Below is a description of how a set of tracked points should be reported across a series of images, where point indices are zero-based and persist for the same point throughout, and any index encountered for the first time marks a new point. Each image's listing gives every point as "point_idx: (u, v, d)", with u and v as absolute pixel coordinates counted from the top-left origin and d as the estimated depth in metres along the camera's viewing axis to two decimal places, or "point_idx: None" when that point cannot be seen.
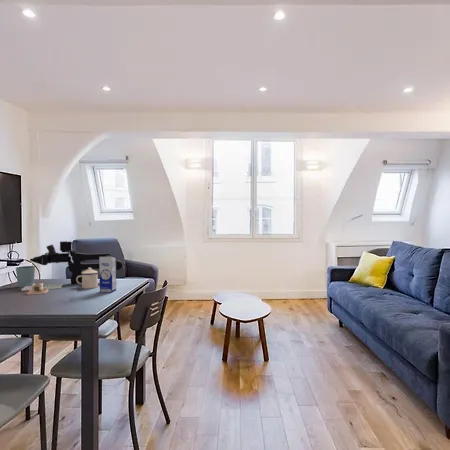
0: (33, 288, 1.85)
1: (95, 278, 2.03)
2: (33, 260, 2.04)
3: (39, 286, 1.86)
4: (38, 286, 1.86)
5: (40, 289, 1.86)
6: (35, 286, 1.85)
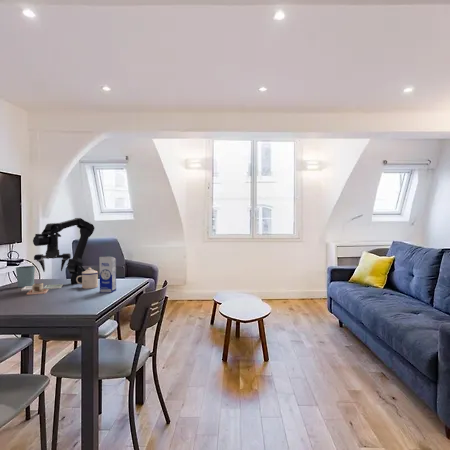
0: (33, 288, 1.85)
1: (95, 278, 2.03)
2: (62, 267, 2.04)
3: (39, 286, 1.86)
4: (38, 286, 1.86)
5: (40, 289, 1.86)
6: (35, 286, 1.85)
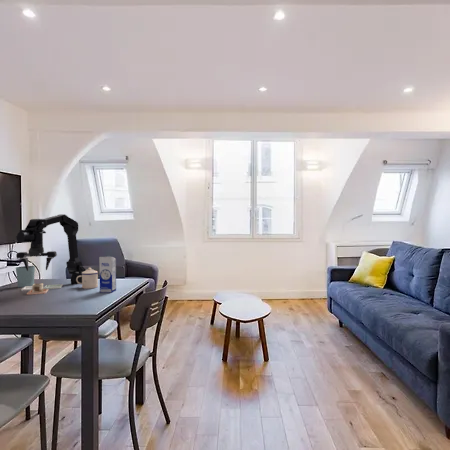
0: (33, 288, 1.85)
1: (95, 278, 2.03)
2: None
3: (39, 286, 1.86)
4: (38, 286, 1.86)
5: (40, 289, 1.86)
6: (35, 286, 1.85)
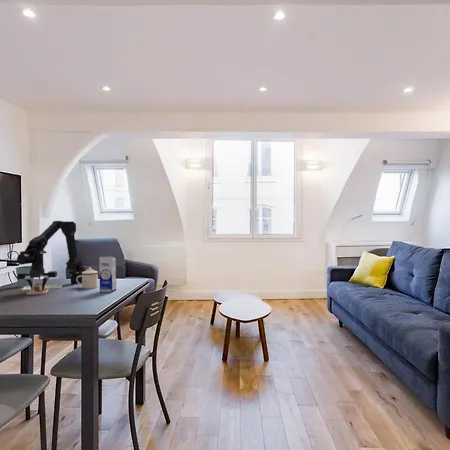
0: (33, 288, 1.85)
1: (95, 278, 2.03)
2: (44, 286, 1.89)
3: (39, 286, 1.86)
4: (38, 286, 1.86)
5: (40, 289, 1.86)
6: (35, 286, 1.85)
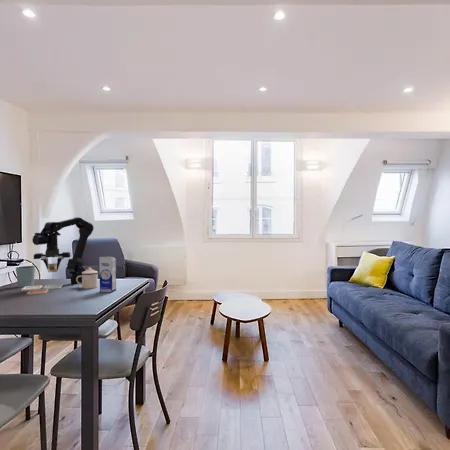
0: (48, 267, 1.99)
1: (95, 278, 2.03)
2: (58, 266, 2.03)
3: (54, 265, 1.99)
4: (53, 265, 1.99)
5: (55, 268, 2.00)
6: (50, 265, 1.99)
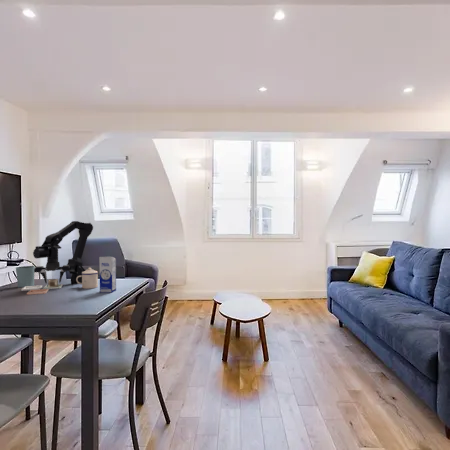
0: (49, 283, 1.99)
1: (95, 278, 2.03)
2: None
3: (54, 281, 2.00)
4: (53, 281, 2.00)
5: (55, 284, 2.00)
6: (51, 281, 1.99)
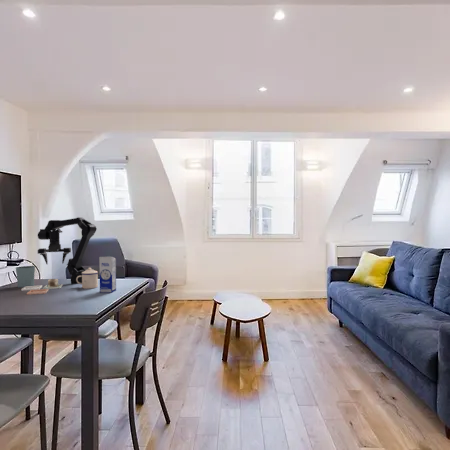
0: (49, 283, 1.99)
1: (95, 278, 2.03)
2: None
3: (54, 281, 2.00)
4: (53, 281, 2.00)
5: (55, 284, 2.00)
6: (51, 281, 1.99)
